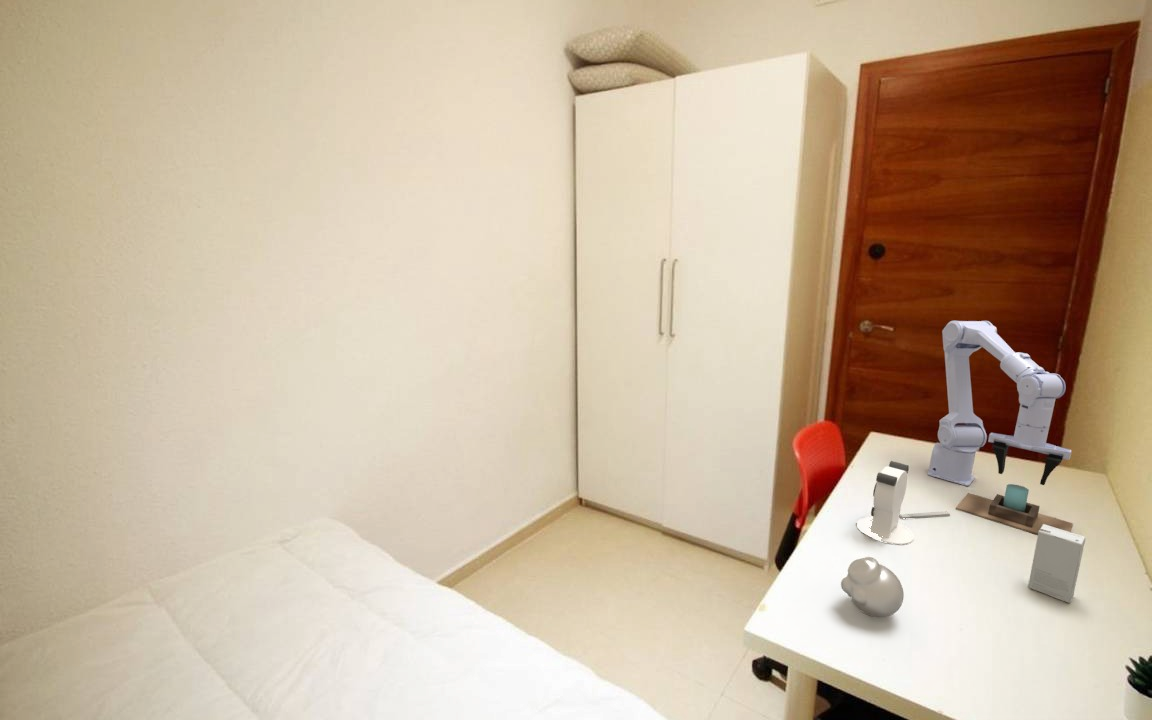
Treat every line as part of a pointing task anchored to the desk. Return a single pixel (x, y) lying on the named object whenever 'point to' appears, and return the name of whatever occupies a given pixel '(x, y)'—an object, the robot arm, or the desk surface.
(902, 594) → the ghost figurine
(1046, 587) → the skincare box
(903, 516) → the light grey rod
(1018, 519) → the peg stand
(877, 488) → the white tall piece
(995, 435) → the robot arm
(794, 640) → the desk surface
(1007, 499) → the teal peg
